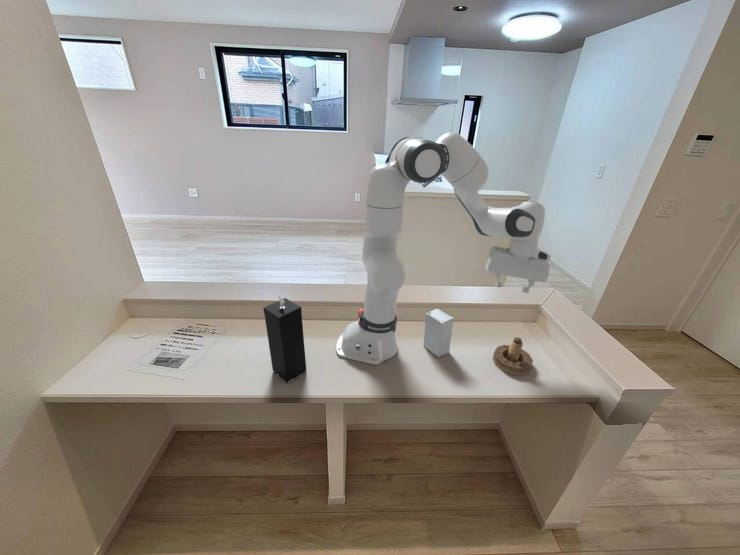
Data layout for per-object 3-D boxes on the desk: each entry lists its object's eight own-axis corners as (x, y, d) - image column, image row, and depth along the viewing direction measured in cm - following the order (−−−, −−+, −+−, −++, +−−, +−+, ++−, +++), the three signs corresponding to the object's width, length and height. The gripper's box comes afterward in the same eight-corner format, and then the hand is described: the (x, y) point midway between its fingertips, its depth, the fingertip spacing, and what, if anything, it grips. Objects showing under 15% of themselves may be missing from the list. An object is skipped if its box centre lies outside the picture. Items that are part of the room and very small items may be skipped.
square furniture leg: (287, 383, 97) (277, 307, 85) (272, 371, 102) (261, 297, 90) (306, 370, 103) (300, 297, 90) (292, 359, 107) (284, 288, 95)
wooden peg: (507, 365, 107) (513, 342, 103) (504, 358, 111) (510, 335, 106) (518, 366, 107) (525, 343, 103) (514, 359, 110) (521, 336, 106)
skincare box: (449, 352, 113) (455, 318, 106) (437, 358, 110) (442, 323, 103) (433, 340, 119) (438, 307, 113) (421, 345, 116) (425, 312, 110)
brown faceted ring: (498, 373, 104) (500, 366, 103) (489, 350, 115) (491, 343, 113) (535, 376, 103) (538, 369, 102) (523, 353, 114) (525, 346, 112)
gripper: (493, 245, 104) (483, 285, 106) (555, 257, 103) (544, 297, 105) (488, 244, 111) (479, 282, 113) (547, 255, 109) (536, 293, 111)
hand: (511, 289), depth 109 cm, fingers open, 8 cm apart
